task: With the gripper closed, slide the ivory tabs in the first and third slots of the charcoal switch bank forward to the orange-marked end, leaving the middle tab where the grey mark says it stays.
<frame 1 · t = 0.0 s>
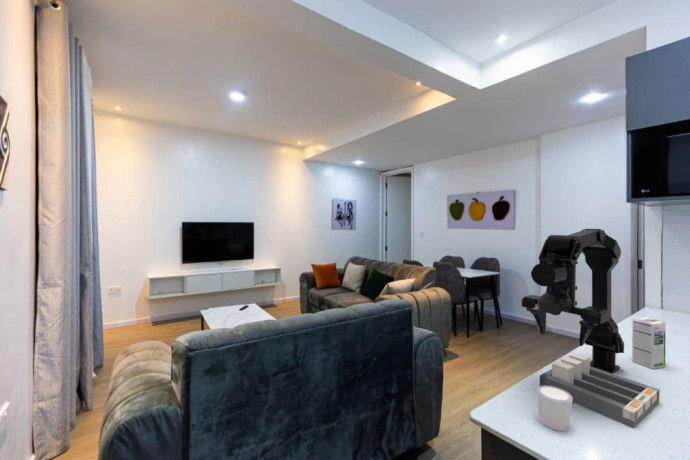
hand: (561, 339, 83), 15 cm above the counter, tool pointing down, fingers open, 9 cm apart
tab 3: (562, 374, 85), point 4 cm above the counter, slide at 0.0 cm
tab 2: (571, 369, 88), point 4 cm above the counter, slide at 0.0 cm
white cup: (553, 423, 72), on the counter
tab 1: (579, 365, 90), point 4 cm above the counter, slide at 0.0 cm
syrup box: (648, 365, 100), on the counter
switch bank: (596, 394, 83), on the counter
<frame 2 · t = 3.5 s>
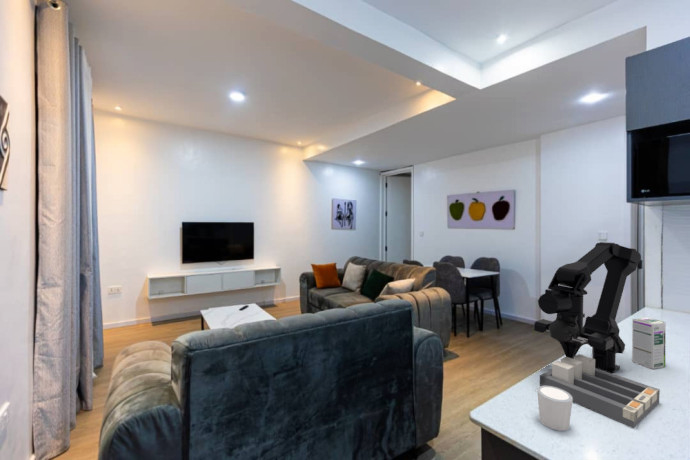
hand: (570, 361, 92), 4 cm above the counter, tool pointing down, fingers closed
tab 1: (584, 366, 89), point 4 cm above the counter, slide at 1.3 cm, touching gripper
everything else where it was.
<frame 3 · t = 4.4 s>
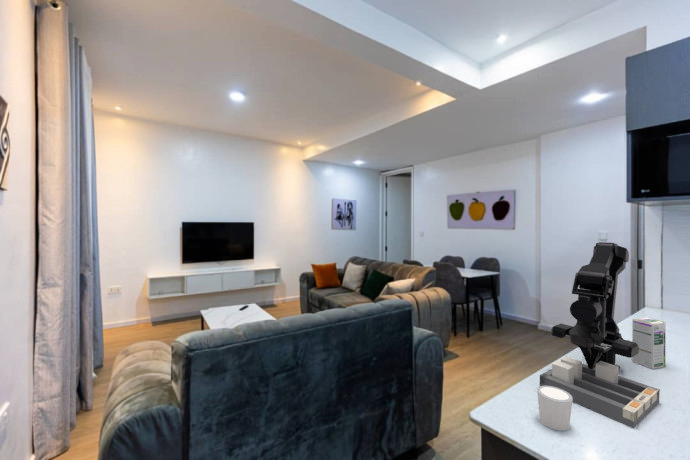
hand: (591, 368, 88), 4 cm above the counter, tool pointing down, fingers closed
tab 1: (606, 374, 85), point 4 cm above the counter, slide at 6.5 cm, touching gripper
everything else where it was.
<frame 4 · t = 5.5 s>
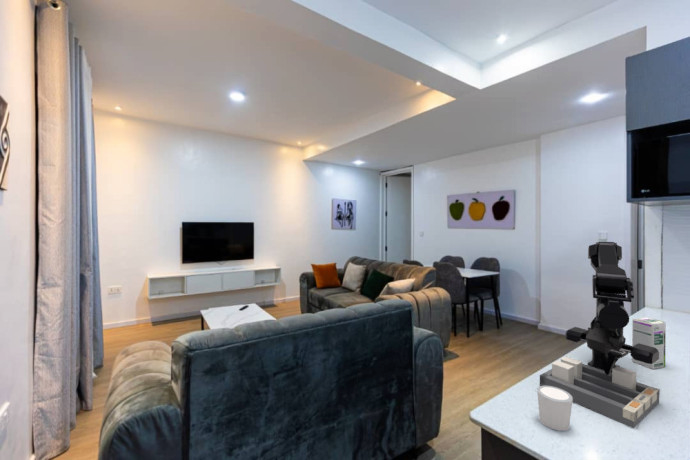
hand: (607, 374, 85), 5 cm above the counter, tool pointing down, fingers closed
tab 1: (624, 380, 82), point 4 cm above the counter, slide at 10.1 cm, touching gripper
everything else where it was.
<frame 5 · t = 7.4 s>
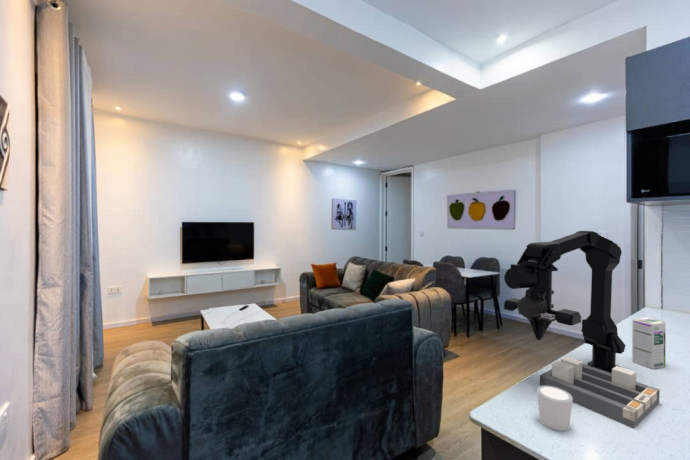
hand: (539, 339, 90), 12 cm above the counter, tool pointing down, fingers closed
tab 1: (623, 380, 82), point 4 cm above the counter, slide at 10.1 cm
everything else where it was.
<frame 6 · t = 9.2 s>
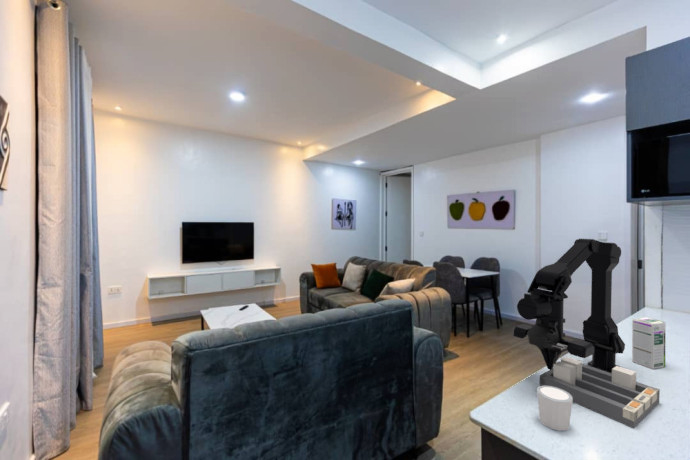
hand: (550, 369, 88), 4 cm above the counter, tool pointing down, fingers closed
tab 3: (564, 374, 85), point 4 cm above the counter, slide at 0.4 cm, touching gripper
everything else where it was.
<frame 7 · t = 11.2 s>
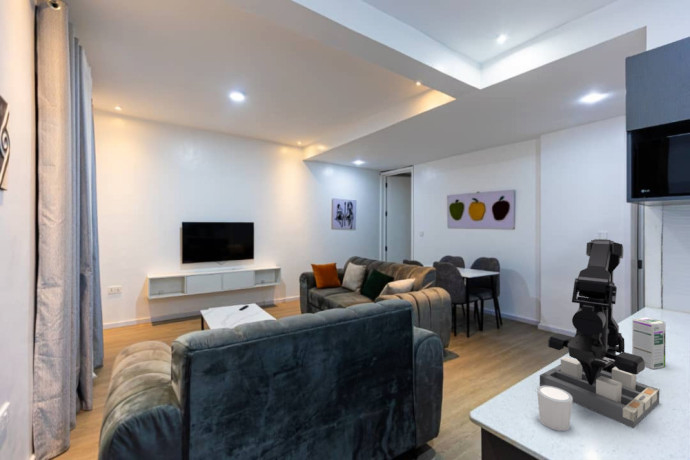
hand: (591, 384, 79), 4 cm above the counter, tool pointing down, fingers closed
tab 3: (608, 391, 76), point 4 cm above the counter, slide at 10.1 cm, touching gripper
everything else where it was.
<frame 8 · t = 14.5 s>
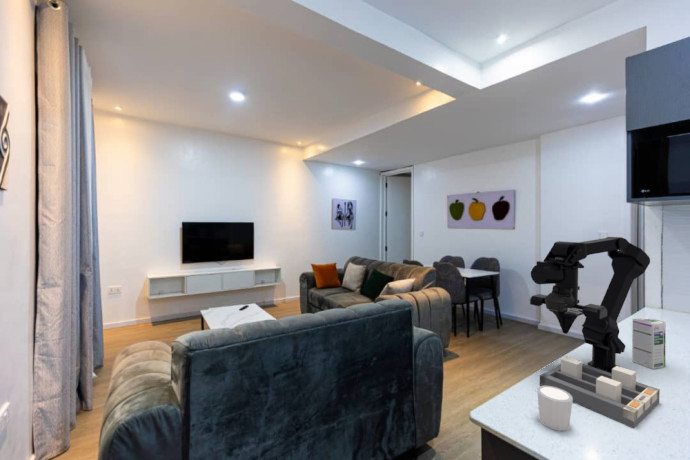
hand: (565, 333, 95), 12 cm above the counter, tool pointing down, fingers closed
tab 3: (608, 391, 76), point 4 cm above the counter, slide at 10.1 cm
everything else where it was.
at the end: tab 1 slide at 10.1 cm; tab 3 slide at 10.1 cm; tab 2 slide at 0.0 cm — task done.
